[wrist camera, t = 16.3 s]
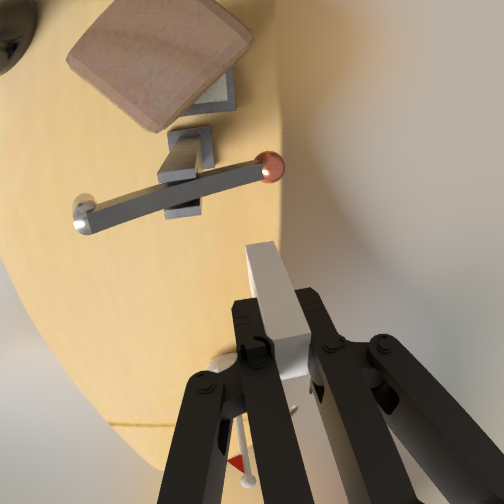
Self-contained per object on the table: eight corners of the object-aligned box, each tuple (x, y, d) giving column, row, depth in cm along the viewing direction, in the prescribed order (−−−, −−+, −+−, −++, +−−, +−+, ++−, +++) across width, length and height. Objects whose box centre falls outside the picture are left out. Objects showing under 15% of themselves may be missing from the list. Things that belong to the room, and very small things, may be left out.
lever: (68, 194, 21) (69, 213, 17) (256, 143, 31) (292, 151, 26) (77, 226, 23) (82, 252, 19) (257, 171, 32) (292, 183, 28)
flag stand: (270, 365, 67) (298, 480, 41) (230, 387, 70) (245, 495, 44) (233, 341, 60) (255, 476, 35) (192, 367, 63) (198, 490, 38)
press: (133, 31, 29) (79, -7, 12) (228, 18, 30) (246, -37, 13) (150, 175, 40) (114, 238, 24) (238, 163, 41) (262, 218, 25)
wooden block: (181, 18, 27) (157, -44, 10) (235, 64, 32) (262, 37, 15) (127, 72, 30) (56, 61, 13) (180, 117, 35) (154, 141, 18)
